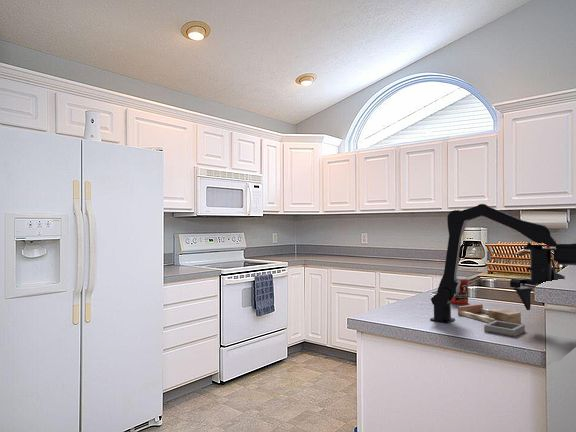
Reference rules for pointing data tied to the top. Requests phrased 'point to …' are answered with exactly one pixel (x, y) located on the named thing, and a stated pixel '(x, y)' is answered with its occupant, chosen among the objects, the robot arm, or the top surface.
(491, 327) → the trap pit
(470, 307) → the wooden lane
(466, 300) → the canned food
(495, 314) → the light brown wooden block
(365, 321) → the top surface
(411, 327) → the top surface
